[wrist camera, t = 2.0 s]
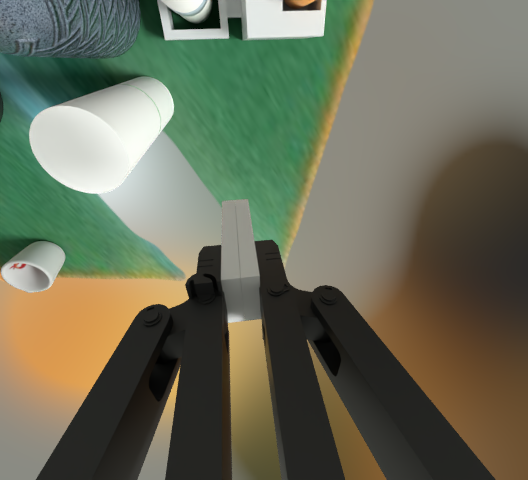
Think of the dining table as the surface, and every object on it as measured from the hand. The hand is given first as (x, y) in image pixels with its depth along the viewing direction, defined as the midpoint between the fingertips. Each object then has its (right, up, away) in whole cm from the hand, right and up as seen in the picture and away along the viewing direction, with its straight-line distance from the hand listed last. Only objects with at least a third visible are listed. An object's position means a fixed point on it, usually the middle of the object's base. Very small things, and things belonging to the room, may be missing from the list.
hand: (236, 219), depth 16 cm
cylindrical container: (-16, +21, +25) cm, 37 cm away
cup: (-44, -4, +40) cm, 60 cm away
